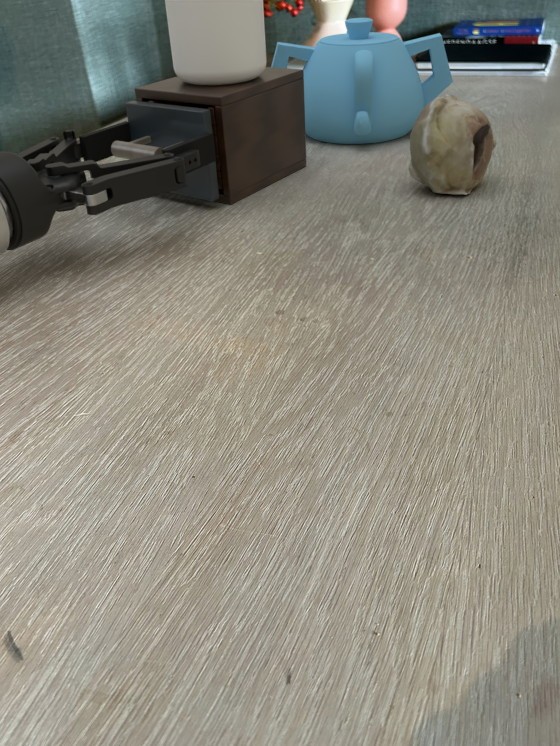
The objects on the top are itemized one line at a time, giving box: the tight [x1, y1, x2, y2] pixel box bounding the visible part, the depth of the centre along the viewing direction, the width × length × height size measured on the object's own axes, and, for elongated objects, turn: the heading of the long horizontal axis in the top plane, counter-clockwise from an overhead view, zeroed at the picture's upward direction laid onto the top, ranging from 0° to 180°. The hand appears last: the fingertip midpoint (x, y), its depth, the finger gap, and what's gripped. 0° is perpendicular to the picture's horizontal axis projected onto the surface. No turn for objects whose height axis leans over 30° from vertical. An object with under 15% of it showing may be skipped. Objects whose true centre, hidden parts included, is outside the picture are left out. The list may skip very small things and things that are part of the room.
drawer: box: [111, 99, 223, 202], centre depth 72 cm, size 19×11×9 cm, turn 145°
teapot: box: [270, 17, 454, 145], centre depth 90 cm, size 19×19×14 cm
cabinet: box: [134, 66, 307, 205], centre depth 76 cm, size 15×12×11 cm
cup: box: [164, 0, 267, 85], centre depth 70 cm, size 10×10×10 cm
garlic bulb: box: [408, 93, 497, 196], centre depth 70 cm, size 9×8×10 cm
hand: (169, 140), depth 69 cm, fingers closed on drawer, 11 cm apart
